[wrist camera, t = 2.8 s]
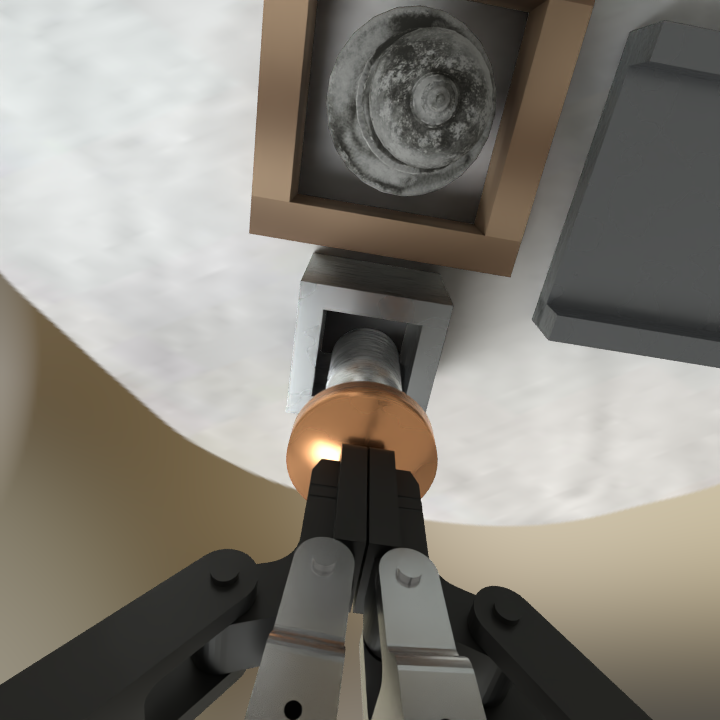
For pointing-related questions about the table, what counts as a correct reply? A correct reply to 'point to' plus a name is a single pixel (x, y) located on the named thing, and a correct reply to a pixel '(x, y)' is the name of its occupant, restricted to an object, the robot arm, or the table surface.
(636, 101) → the tray
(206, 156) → the table surface
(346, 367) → the copper mushroom knob
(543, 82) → the socket collar
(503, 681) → the robot arm
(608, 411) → the table surface
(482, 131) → the dark grey chess piece
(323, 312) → the housing
